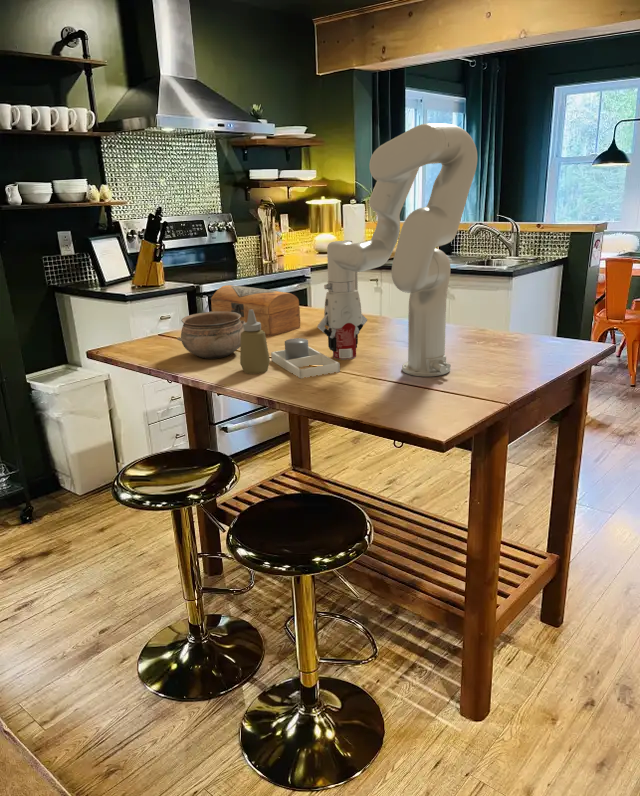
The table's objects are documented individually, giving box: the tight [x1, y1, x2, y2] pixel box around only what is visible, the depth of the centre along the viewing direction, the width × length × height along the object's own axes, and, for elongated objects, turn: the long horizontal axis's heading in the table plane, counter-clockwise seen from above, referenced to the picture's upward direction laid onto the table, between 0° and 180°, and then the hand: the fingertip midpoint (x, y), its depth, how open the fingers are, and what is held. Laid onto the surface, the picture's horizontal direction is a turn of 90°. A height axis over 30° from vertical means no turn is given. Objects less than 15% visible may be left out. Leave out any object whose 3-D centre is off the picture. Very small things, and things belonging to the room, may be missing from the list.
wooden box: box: [210, 284, 301, 337], centre depth 223 cm, size 30×16×14 cm, turn 48°
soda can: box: [332, 320, 357, 361], centre depth 182 cm, size 7×7×12 cm
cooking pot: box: [177, 311, 245, 360], centre depth 189 cm, size 25×19×12 cm
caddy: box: [270, 337, 341, 379], centre depth 175 cm, size 20×12×7 cm, turn 25°
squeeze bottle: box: [239, 310, 271, 375], centre depth 170 cm, size 8×8×18 cm
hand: (343, 348), depth 183 cm, fingers closed on soda can, 6 cm apart
